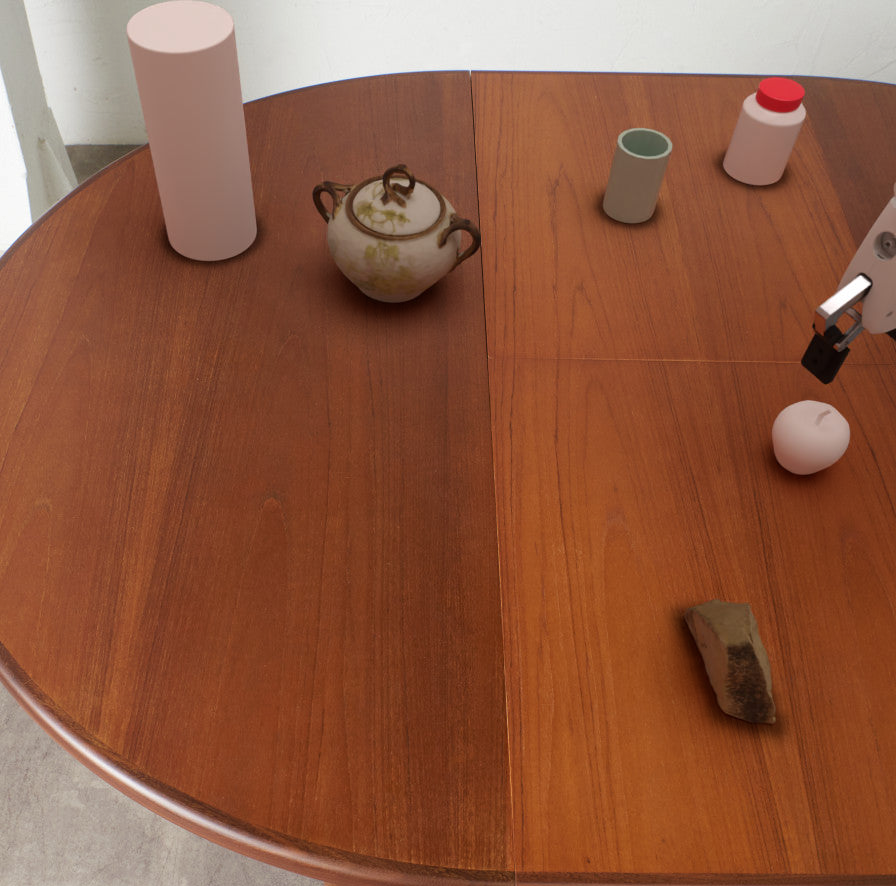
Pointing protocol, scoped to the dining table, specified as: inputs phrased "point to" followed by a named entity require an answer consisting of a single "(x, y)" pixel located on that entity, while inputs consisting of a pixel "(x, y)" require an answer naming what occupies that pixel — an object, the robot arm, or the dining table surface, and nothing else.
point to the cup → (636, 175)
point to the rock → (734, 658)
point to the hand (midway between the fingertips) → (855, 354)
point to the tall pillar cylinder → (195, 125)
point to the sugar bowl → (394, 234)
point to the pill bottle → (766, 132)
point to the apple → (809, 437)
